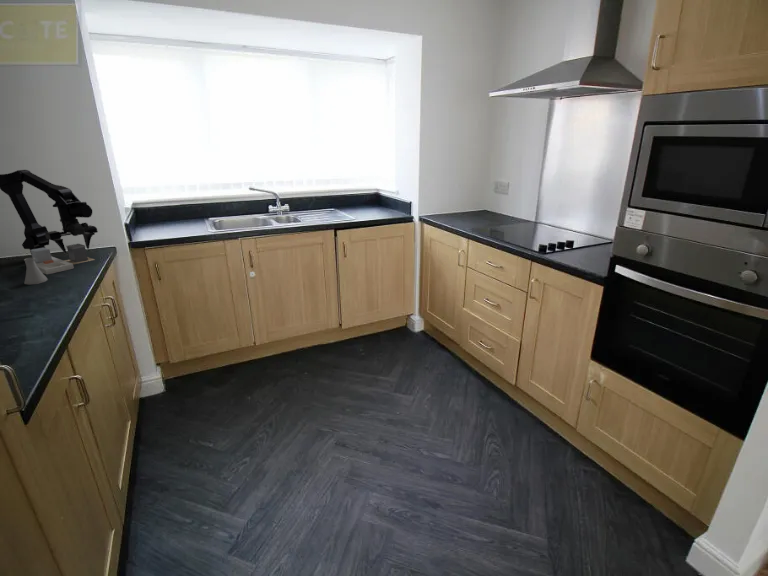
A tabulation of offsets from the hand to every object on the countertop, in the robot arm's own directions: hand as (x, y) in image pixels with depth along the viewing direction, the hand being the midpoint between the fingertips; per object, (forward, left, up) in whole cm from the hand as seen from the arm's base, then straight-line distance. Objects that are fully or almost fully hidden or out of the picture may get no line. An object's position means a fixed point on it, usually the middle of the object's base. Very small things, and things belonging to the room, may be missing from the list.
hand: (76, 250), depth 193 cm
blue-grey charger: (-5, -12, -4) cm, 14 cm away
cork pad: (0, 0, -5) cm, 5 cm away
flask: (+19, -23, -5) cm, 30 cm away
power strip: (-1, -12, -5) cm, 13 cm away
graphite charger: (0, 0, -4) cm, 5 cm away
